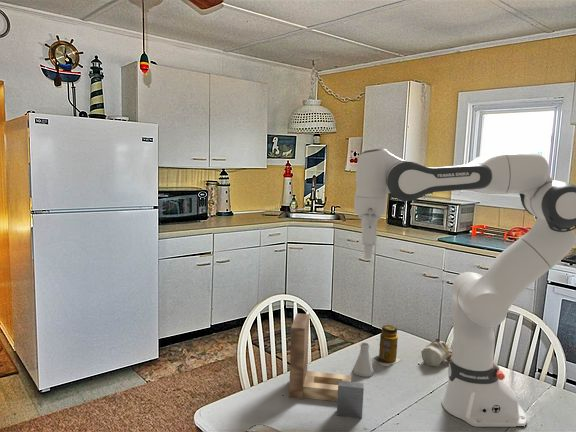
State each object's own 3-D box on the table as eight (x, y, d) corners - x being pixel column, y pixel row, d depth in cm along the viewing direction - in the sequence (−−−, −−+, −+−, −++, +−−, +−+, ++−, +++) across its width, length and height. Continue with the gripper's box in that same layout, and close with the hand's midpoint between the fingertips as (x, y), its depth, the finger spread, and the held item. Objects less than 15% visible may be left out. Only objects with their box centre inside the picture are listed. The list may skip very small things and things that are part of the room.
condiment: (401, 359, 165) (403, 328, 163) (387, 367, 159) (389, 334, 157) (383, 353, 170) (385, 322, 168) (370, 359, 164) (372, 327, 162)
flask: (373, 378, 150) (375, 349, 149) (351, 376, 152) (353, 347, 150) (374, 368, 157) (376, 340, 156) (353, 366, 159) (354, 338, 157)
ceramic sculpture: (415, 339, 161) (433, 329, 173) (412, 362, 162) (430, 351, 174) (444, 348, 154) (461, 338, 166) (441, 373, 155) (458, 361, 167)
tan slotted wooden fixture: (350, 384, 146) (354, 317, 143) (349, 404, 135) (353, 332, 131) (294, 378, 149) (296, 313, 146) (289, 397, 137) (291, 327, 134)
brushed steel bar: (361, 412, 131) (363, 383, 129) (361, 418, 128) (363, 388, 126) (337, 409, 132) (338, 380, 130) (336, 415, 129) (338, 385, 127)
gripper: (383, 212, 119) (380, 264, 121) (380, 203, 139) (377, 248, 141) (358, 210, 120) (355, 262, 122) (359, 202, 140) (356, 246, 142)
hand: (367, 254), depth 132 cm, fingers open, 8 cm apart
